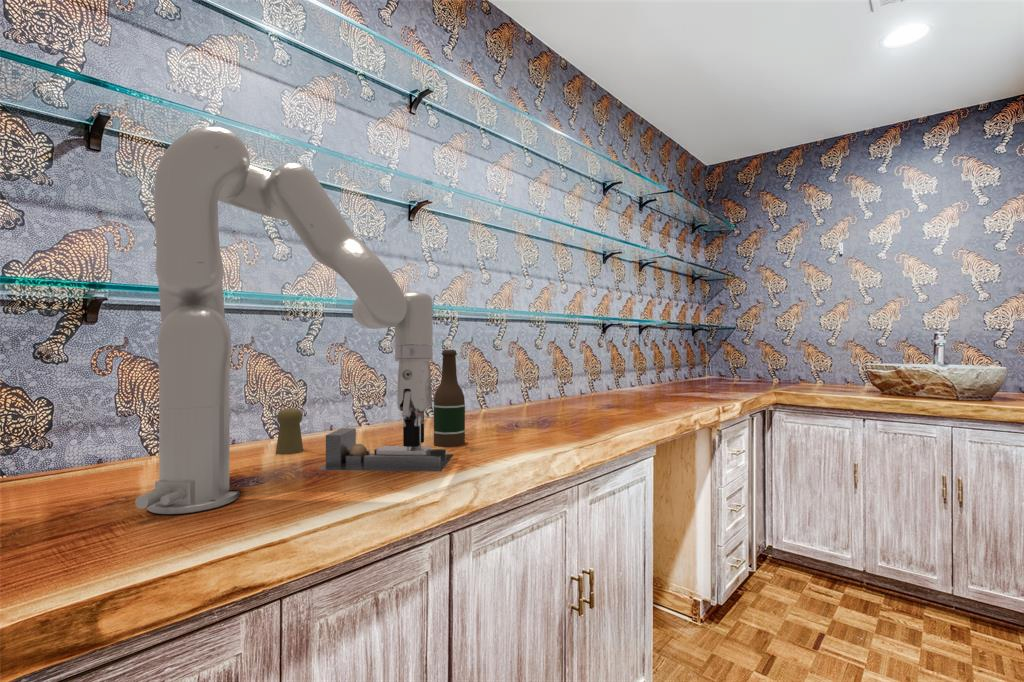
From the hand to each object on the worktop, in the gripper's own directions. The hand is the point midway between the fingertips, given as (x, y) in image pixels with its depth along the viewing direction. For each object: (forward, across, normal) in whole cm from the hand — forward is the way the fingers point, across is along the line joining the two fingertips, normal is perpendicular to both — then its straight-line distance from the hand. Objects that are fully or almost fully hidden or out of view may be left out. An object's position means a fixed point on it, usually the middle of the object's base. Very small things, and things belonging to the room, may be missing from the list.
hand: (413, 443), depth 99 cm
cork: (+5, +8, +30) cm, 32 cm away
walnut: (+4, 0, +12) cm, 12 cm away
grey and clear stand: (+3, 0, +2) cm, 4 cm away
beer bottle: (+5, +18, -4) cm, 19 cm away
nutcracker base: (+5, 0, +5) cm, 7 cm away
